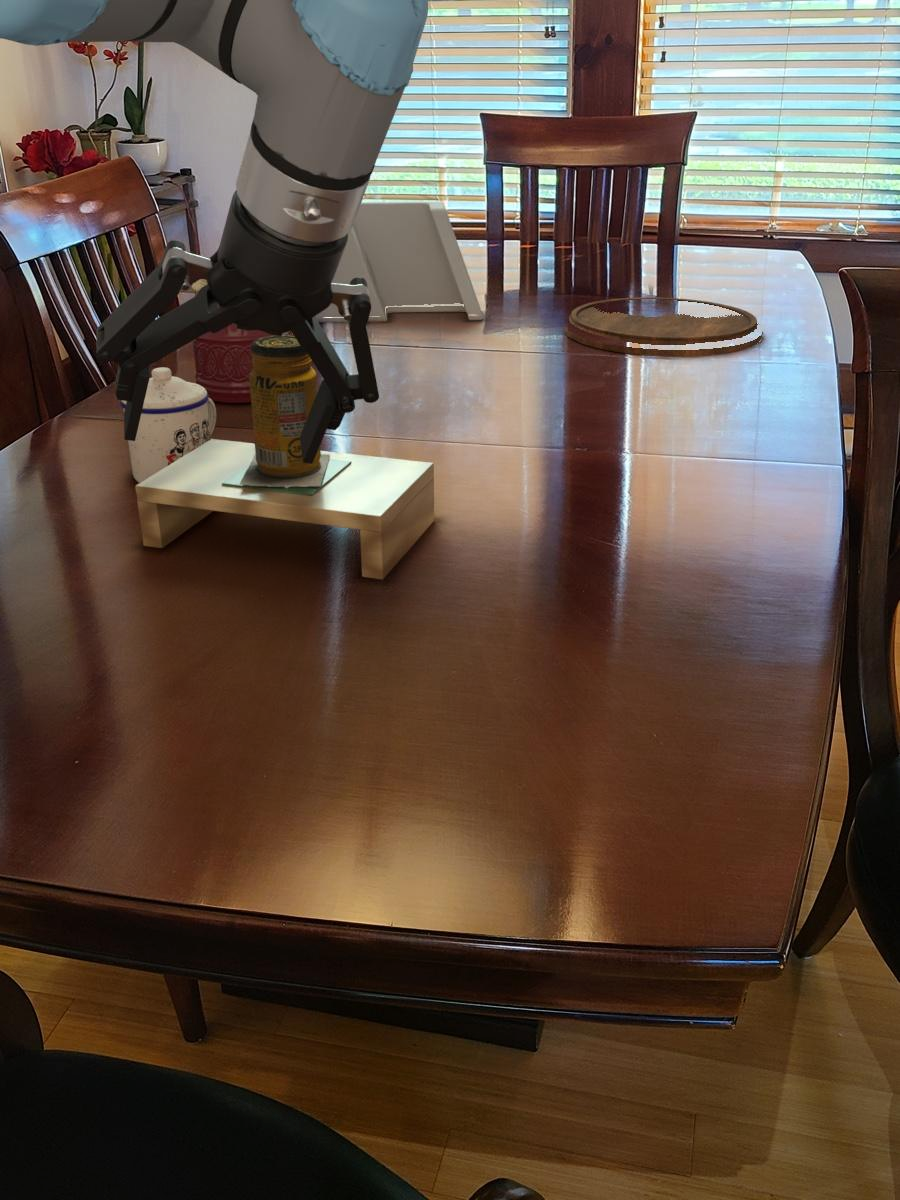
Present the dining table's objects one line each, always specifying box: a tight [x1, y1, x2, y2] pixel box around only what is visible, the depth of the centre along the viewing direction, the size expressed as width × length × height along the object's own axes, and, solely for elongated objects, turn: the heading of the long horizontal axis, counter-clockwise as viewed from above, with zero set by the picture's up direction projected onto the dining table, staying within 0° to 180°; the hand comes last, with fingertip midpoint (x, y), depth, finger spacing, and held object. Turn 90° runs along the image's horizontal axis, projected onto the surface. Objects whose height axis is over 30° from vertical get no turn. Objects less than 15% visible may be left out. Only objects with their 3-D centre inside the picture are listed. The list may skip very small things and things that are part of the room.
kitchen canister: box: [191, 279, 290, 404], centre depth 142 cm, size 13×13×18 cm
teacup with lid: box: [119, 367, 217, 484], centre depth 116 cm, size 12×9×12 cm
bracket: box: [316, 201, 484, 323], centre depth 183 cm, size 30×10×30 cm, turn 93°
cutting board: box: [562, 296, 764, 357], centre depth 176 cm, size 32×32×2 cm
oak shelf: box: [134, 438, 435, 580], centre depth 102 cm, size 24×14×6 cm, turn 72°
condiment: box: [239, 334, 330, 488], centre depth 98 cm, size 7×8×12 cm
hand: (220, 439), depth 83 cm, fingers open, 13 cm apart
